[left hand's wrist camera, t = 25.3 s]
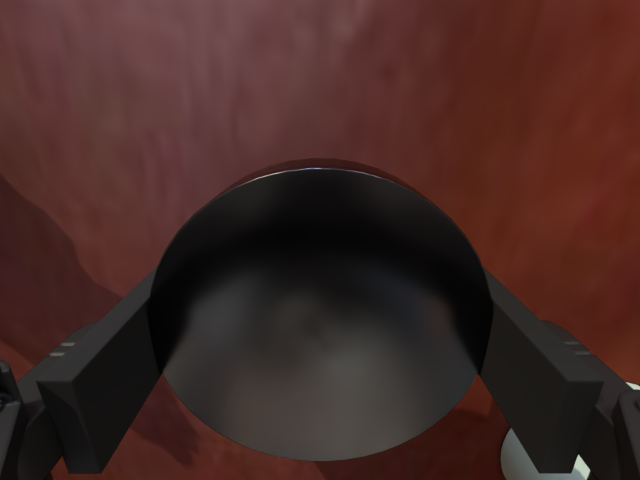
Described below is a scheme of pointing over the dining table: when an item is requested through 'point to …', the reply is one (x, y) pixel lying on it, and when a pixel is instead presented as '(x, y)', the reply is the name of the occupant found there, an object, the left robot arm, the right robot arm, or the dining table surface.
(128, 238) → the dining table surface
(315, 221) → the lid
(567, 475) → the jar
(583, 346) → the left robot arm
